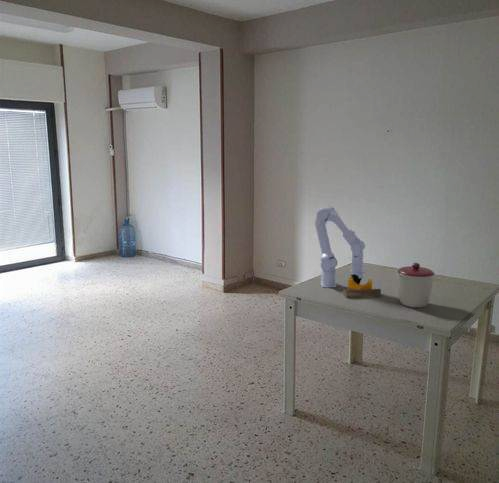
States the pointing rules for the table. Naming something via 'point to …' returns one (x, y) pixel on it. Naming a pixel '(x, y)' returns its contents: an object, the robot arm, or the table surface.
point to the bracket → (362, 293)
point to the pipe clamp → (353, 285)
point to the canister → (415, 285)
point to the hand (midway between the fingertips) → (356, 287)
